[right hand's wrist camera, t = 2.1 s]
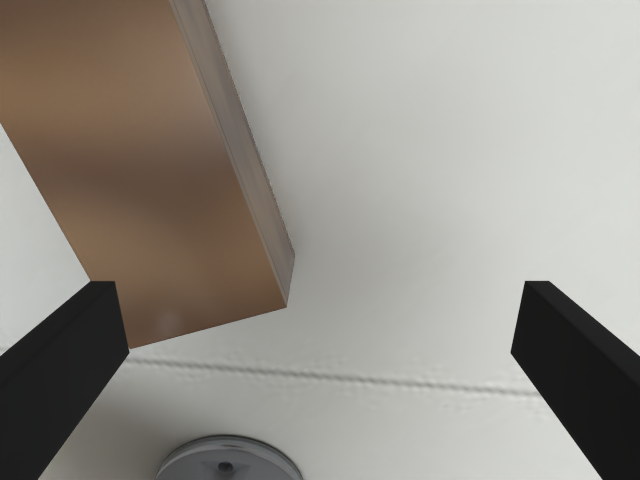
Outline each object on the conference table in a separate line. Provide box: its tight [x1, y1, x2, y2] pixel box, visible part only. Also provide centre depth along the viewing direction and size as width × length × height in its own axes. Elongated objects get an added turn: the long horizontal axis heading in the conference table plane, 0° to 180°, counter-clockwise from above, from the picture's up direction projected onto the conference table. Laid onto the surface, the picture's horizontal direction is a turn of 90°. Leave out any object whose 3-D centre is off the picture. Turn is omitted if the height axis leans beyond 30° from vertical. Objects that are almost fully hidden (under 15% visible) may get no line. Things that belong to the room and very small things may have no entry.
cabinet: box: [0, 0, 295, 349], centre depth 25 cm, size 21×10×8 cm, turn 17°
